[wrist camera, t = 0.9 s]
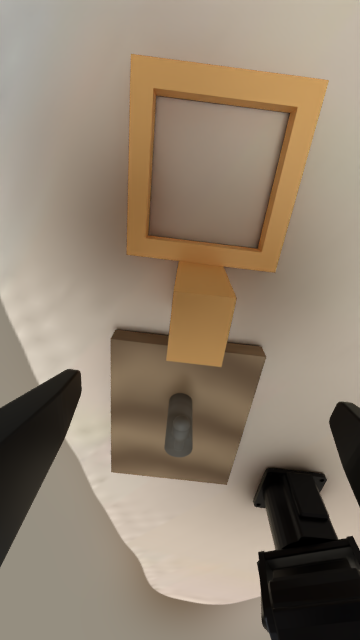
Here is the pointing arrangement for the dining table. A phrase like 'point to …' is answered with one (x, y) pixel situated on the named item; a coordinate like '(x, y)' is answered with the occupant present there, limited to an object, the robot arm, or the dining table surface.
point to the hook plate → (152, 407)
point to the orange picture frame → (200, 257)
